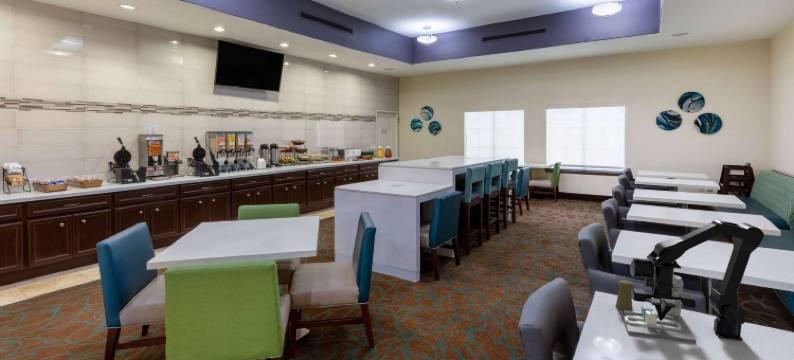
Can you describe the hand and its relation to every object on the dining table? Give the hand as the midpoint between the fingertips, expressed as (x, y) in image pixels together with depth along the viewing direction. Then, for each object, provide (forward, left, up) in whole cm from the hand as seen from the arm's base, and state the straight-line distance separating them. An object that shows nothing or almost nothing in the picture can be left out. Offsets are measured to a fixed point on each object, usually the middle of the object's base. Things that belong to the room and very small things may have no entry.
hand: (660, 320), depth 149 cm
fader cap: (+3, 0, -2) cm, 3 cm away
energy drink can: (-7, -14, -3) cm, 16 cm away
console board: (+1, 0, -3) cm, 3 cm away
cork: (+9, -15, -3) cm, 18 cm away
